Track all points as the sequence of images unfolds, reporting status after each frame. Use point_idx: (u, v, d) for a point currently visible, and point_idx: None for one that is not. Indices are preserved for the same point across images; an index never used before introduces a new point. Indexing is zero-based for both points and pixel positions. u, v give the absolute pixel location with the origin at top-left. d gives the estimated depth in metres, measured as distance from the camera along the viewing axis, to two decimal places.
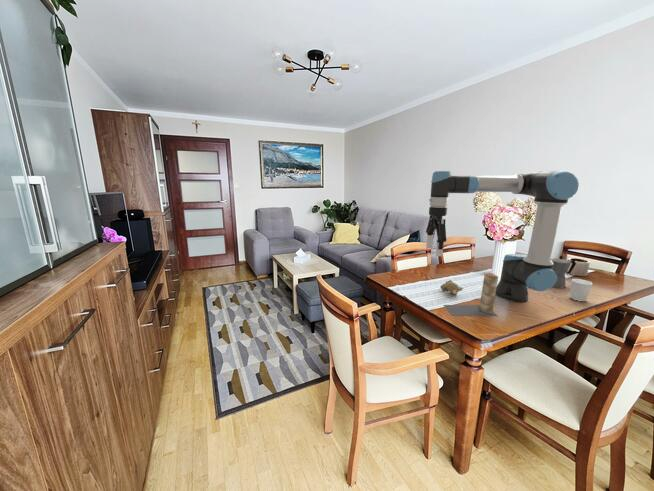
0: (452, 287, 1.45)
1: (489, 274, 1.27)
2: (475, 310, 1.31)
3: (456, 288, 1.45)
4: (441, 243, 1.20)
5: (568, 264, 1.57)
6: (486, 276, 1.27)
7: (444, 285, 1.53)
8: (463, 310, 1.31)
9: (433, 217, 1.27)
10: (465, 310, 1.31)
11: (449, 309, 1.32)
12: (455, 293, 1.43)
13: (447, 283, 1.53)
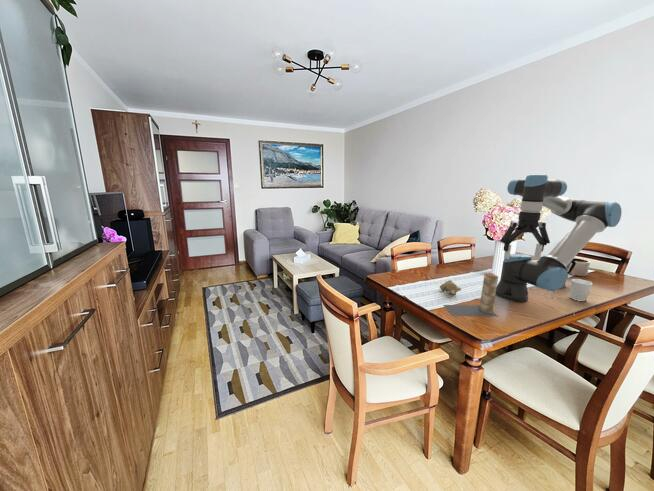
0: (450, 287, 1.46)
1: (489, 274, 1.27)
2: (475, 310, 1.31)
3: (454, 288, 1.45)
4: (505, 244, 1.23)
5: (568, 264, 1.57)
6: (486, 276, 1.27)
7: (443, 285, 1.53)
8: (463, 310, 1.31)
9: None
10: (465, 310, 1.31)
11: (449, 309, 1.32)
12: (453, 293, 1.43)
13: (446, 283, 1.53)
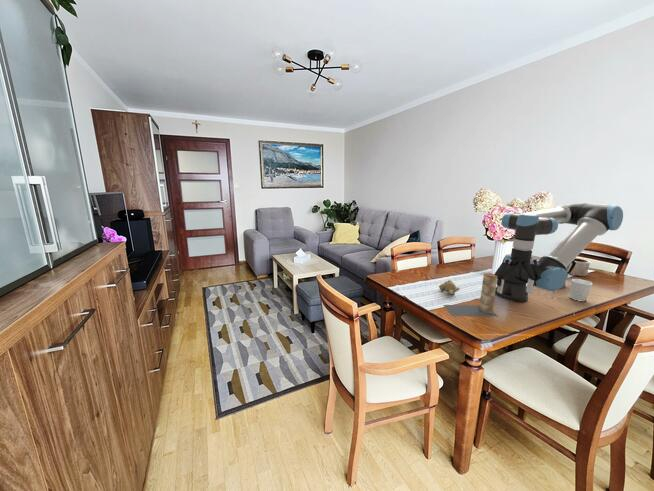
0: (449, 287, 1.46)
1: (488, 274, 1.27)
2: (475, 310, 1.31)
3: (453, 288, 1.45)
4: (498, 280, 1.27)
5: None
6: (485, 276, 1.27)
7: (443, 285, 1.54)
8: (463, 310, 1.31)
9: None
10: (465, 310, 1.31)
11: (449, 309, 1.32)
12: (451, 293, 1.44)
13: (446, 283, 1.53)
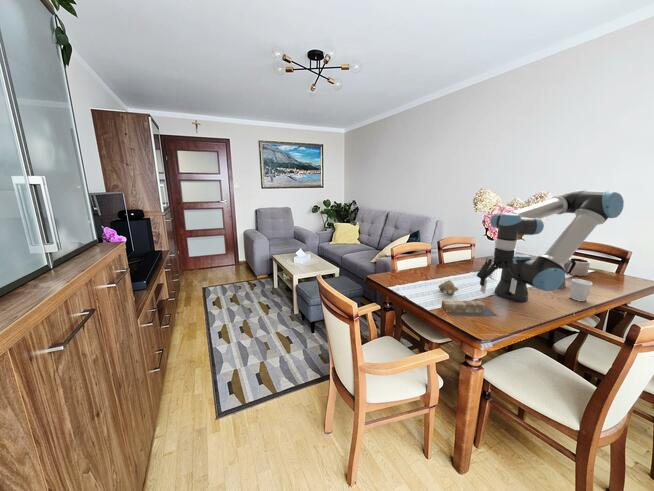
0: (448, 287, 1.46)
1: (442, 306, 1.31)
2: None
3: (452, 288, 1.45)
4: (481, 279, 1.27)
5: (568, 264, 1.57)
6: None
7: (442, 285, 1.54)
8: None
9: None
10: None
11: None
12: (450, 293, 1.44)
13: (445, 283, 1.54)
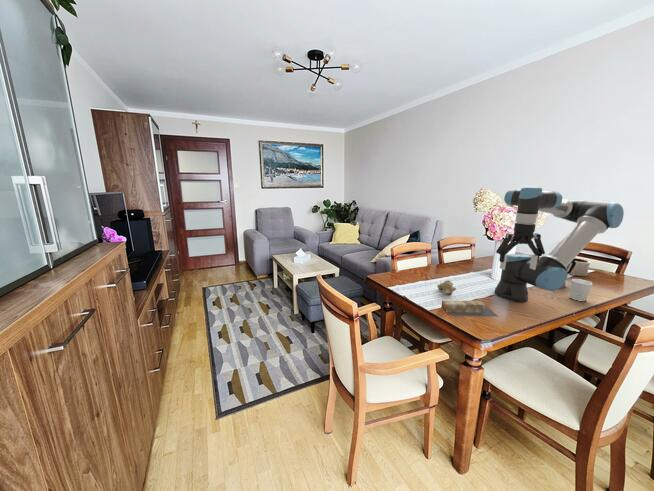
0: (445, 286, 1.46)
1: (442, 306, 1.31)
2: None
3: (449, 288, 1.45)
4: (500, 255, 1.24)
5: (568, 264, 1.57)
6: None
7: (441, 284, 1.54)
8: None
9: None
10: None
11: None
12: (447, 292, 1.44)
13: (444, 283, 1.54)
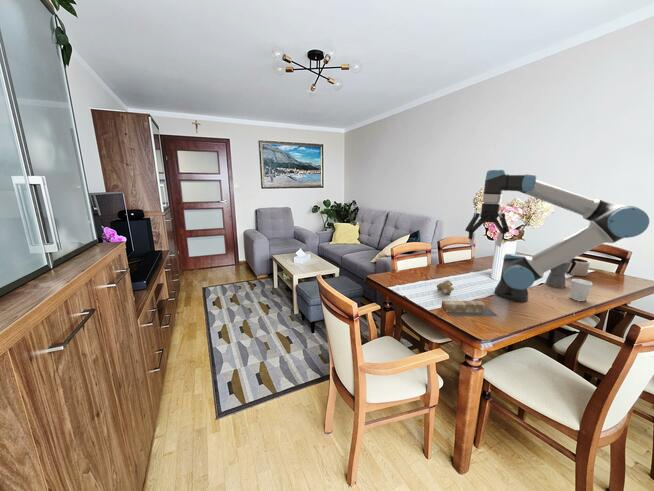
0: (443, 286, 1.47)
1: (442, 306, 1.31)
2: None
3: (447, 287, 1.46)
4: (469, 233, 1.36)
5: (568, 264, 1.57)
6: None
7: (440, 284, 1.54)
8: None
9: None
10: None
11: None
12: (445, 292, 1.44)
13: None
